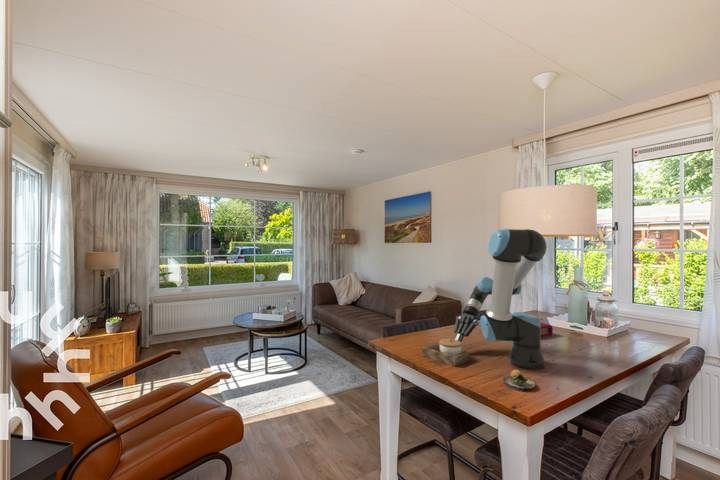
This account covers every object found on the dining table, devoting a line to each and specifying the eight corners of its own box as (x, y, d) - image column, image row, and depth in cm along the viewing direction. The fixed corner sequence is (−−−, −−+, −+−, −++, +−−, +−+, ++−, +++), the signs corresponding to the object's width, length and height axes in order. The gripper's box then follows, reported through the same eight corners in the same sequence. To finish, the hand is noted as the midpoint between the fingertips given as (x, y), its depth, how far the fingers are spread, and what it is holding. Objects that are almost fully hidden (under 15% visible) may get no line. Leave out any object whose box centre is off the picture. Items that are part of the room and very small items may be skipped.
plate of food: (526, 395, 124) (526, 375, 124) (497, 384, 133) (497, 365, 133) (541, 387, 131) (541, 368, 131) (512, 377, 140) (513, 359, 140)
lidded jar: (464, 361, 157) (464, 342, 157) (442, 361, 157) (442, 341, 157) (458, 353, 168) (458, 335, 168) (437, 353, 168) (437, 335, 168)
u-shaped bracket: (468, 360, 158) (469, 352, 159) (455, 366, 151) (455, 358, 151) (436, 350, 173) (436, 343, 173) (421, 355, 165) (421, 347, 165)
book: (514, 325, 227) (515, 314, 228) (552, 336, 202) (552, 323, 202) (492, 328, 219) (492, 317, 219) (528, 340, 193) (528, 327, 193)
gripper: (486, 315, 176) (469, 353, 165) (464, 311, 185) (447, 347, 174) (481, 306, 172) (463, 345, 161) (459, 303, 182) (441, 338, 171)
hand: (454, 346), depth 168 cm, fingers closed
